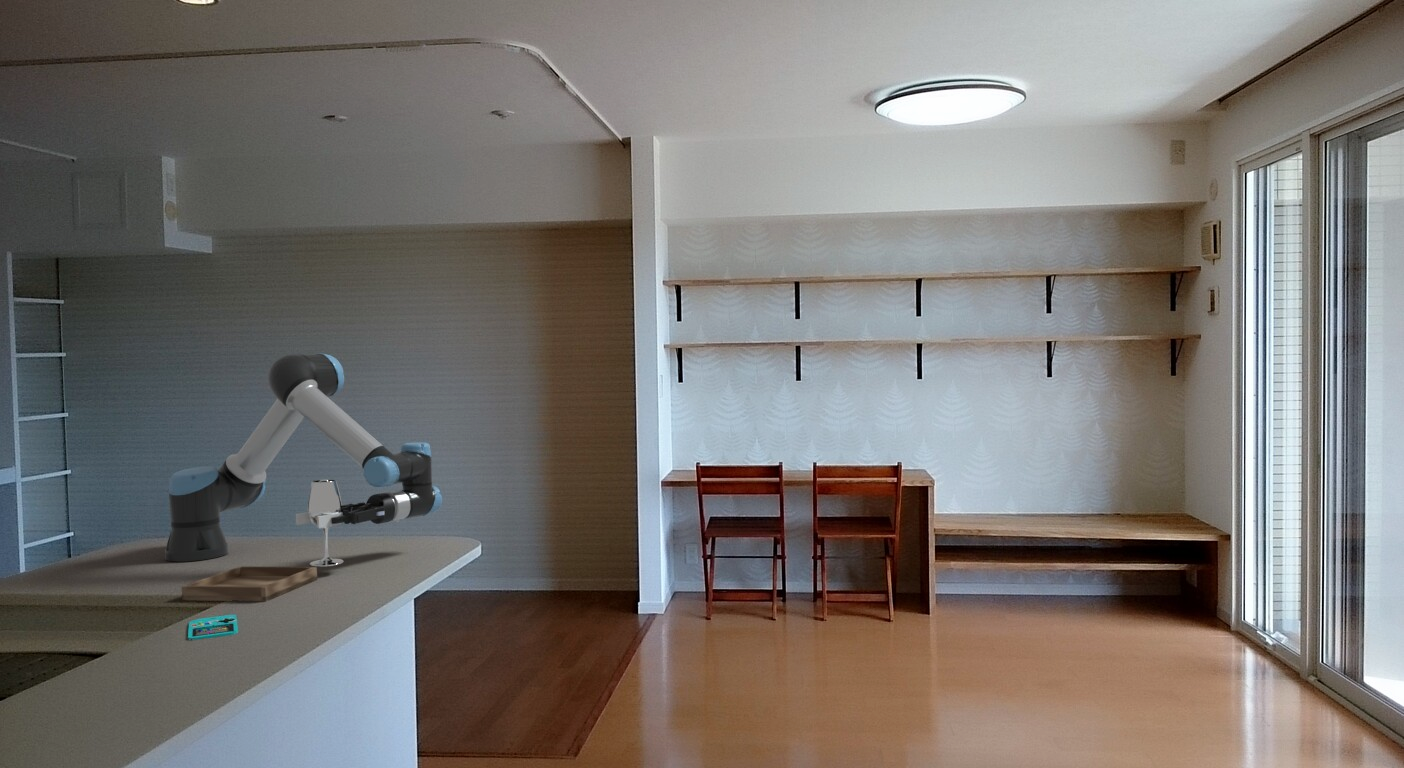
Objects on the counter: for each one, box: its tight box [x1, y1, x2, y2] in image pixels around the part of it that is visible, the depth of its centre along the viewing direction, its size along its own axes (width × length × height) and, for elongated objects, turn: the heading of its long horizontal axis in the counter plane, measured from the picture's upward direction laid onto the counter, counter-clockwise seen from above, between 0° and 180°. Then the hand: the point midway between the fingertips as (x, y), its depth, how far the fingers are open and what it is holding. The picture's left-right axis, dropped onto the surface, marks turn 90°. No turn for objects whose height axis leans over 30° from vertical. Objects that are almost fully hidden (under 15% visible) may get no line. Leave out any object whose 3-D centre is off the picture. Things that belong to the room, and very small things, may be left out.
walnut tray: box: [181, 565, 318, 602], centre depth 222 cm, size 20×20×3 cm
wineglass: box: [307, 478, 344, 568], centre depth 236 cm, size 8×8×20 cm
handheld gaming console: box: [187, 614, 239, 640], centre depth 190 cm, size 8×1×15 cm
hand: (307, 521), depth 232 cm, fingers closed on wineglass, 8 cm apart
